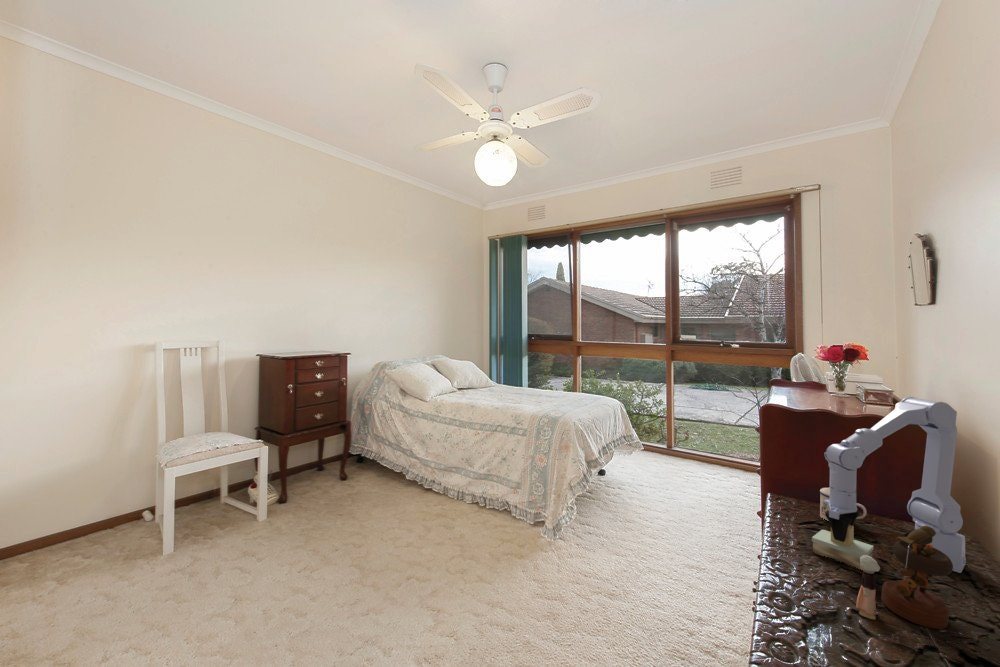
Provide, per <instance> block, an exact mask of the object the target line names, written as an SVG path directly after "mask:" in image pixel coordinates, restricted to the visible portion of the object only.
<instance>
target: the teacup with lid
mask: <svg viewBox="0 0 1000 667" xmlns="http://www.w3.org/2000/svg"><path fill="white" fill-rule="evenodd" d="M829 492H830V486H829V487H822V488H820V490H819V494H820V500H819V501H820V503H819V517H820V518H821V519H822V518H823V519H822V520H824V519H825V520H827V521H829V520H828V519H827V517H826V515H825V512H826V511H829V510H830V508H829V505H828V504H825V503H824V500H826V499H827V500H829ZM856 507H859V508H860V509H861V510H862V511H863V512H862V515H859V516H858V517H857V518H856V520H861V519H864V518H865V517H866V515H867V509H866V507H865V506H864V505H863V504H860V503H858V502H856ZM825 520H824V521H825ZM827 521H826V522H827Z"/></svg>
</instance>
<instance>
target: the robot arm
mask: <svg viewBox="0 0 1000 667" xmlns="http://www.w3.org/2000/svg"><path fill="white" fill-rule="evenodd" d="M894 406H895V407H894V409H893V410H892V411H891V412H889V413H888V414H887V415H886V416H884V417H883V418H882V419H881V420H879V421H878V422H877V423H875V424H874V425H873V426H872V427H871V428H866V427H865V428H862V427H861V428H858V429H856V430H854V433H853V434H852V435H850V436H848V437H847V438H845V439H843V440H841V442H840V443H832V444H831V445H829V446H828V447H827V448H826V450H825V452H824V453H823V455H824V458H825V460H826V461H827V462H828V467H829V487H830V492H829V500H827V499H826V500H824V503H825V504H828V505H829V508H830V510H829V511H826V512H825V515H826V517H827V519H828V520H829V522H828V523H829V525H830V529H831V528H832V532H833V536H834V539H836V540H839V541H842V542H844V541H845V539H846V534H847V529H848V526H849V525H851V526H854V524H855V522H856V520H857V519H856V518H857V517H858V516H860V511H859V510H858V506H856V503H857V469H859V468H861V467H862V465H863V462H864V461H865V459H866V457H868V456H869V455H870V454H872V453H873V452H874V451H876V450H878V449H879V448H880V447H882V446H883V443H884V442H883V439H885V438H887V437H888V436H890V435H892V434H893V433H896V432H897V431H899V430H902V428H904V427H906V426H907V425H918V426H919V427H920V428H921V429H922V430H923V431H924V432H926V440H925V441H926V442H925V449H924V450H925V453H924V461H923V471H922V478H921V487H920V488H919V489H916V490H913V491H912V493H911V498H910V499H909V500H908V503H907V505H906V510H907V513H908V514H909V515H910V516H911V517H912V522H914V529H915V530H916V529H920V528H921V527H922V526H929V527H931V528H932V529H934V531H935V533H936V535H935V536H934V537H932V539H933V540H932V542H931V543H930V545H932V547H933V548H935V549H937V550H939V551H941V552H943V553H944V554H946V555H947V556H948V557H949V559H950V560H951V562H952V564H953V570H952V572H955V573H958V574H961V573H962V572H963V570H964V568H965V566H966V562H967V557H966V536H965V535H963V534H961V533H958V532H959V531H960V530H961V529H962V527H963V523H964V520H963V517H962V514H961V509H962V508H961V505H960V504H959V503H958V502H957V501H956V500H955V499H954V498H953V497H952V496H951V492H952V491H951V490H952V481H953V471H954V465H955V464H954V463H955V455H956V454H955V453H956V447H957V437H958V428H957V425H956V423H957V416H958V415H957V414H958V412H957V410H956V409H954V408H953V406H951V405H950V404H949V403H947V402H943V401H933V400H929V399H923V398H918V397H917V398H916V397H913V396H907V397H904V398H903V399H901V400H900V401H898V402H897V403H895V405H894ZM927 545H928V544H927Z"/></svg>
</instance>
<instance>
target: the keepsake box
mask: <svg viewBox="0 0 1000 667" xmlns="http://www.w3.org/2000/svg"><path fill="white" fill-rule="evenodd" d="M812 553H813V554H816V555H819V556H822V557H824V556H825V558H827V557H829V558H828V559H830V558H832V559H835V560H838V561H840V562H839V563H841V562H844V563H846V564H848V565H847V566H849V565H851V566H850V567H852V566H854V567H856V568H855V569H857V568H858V569H857V570H860V569H861V567H860V563H861V562H860V558H859V557H857V556H854V555H851V554H848V553H845V552H842V551H839V550H836V549H834V548H831V547H828V546H825V545H822V544H819V543H816V542H814V541H812ZM868 556H870V557H872V558H873V551H872V552H871V553H870V554H869V555H868ZM832 559H831V560H832ZM835 560H834V561H835ZM838 561H837V562H838ZM846 564H845V565H846ZM854 567H853V568H854ZM861 571H862V569H861Z"/></svg>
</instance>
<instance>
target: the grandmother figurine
mask: <svg viewBox="0 0 1000 667" xmlns="http://www.w3.org/2000/svg"><path fill="white" fill-rule="evenodd" d="M860 562H861V563H860V567H861V569H862V570H863V572H862V576H861V586H860V588H859V591H858V595H857V598H856V605H855V607H856V609H860V610H859V611H858V613H859V615H860V616H862V617H864V618H867V619H870V620H876V619H877V618H876V615H878V612H877V611H876V608H877V607H876V606H877V605H876V591H877V590H876V589H877V579H876V575H875V572H876V573H877V572H880V570H881V567H880V565H879V564H878V563H879V562H877V560H876V559H874V558H873V556H872V557H870V556H867V555H863V556H862V557H860ZM862 570H861V571H862Z"/></svg>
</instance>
